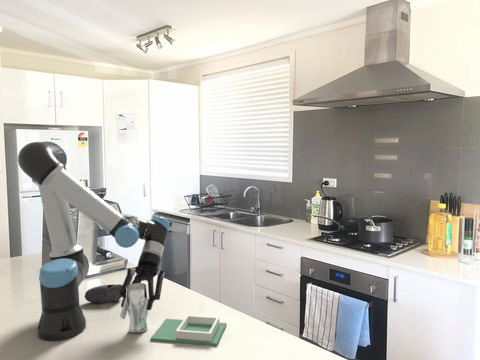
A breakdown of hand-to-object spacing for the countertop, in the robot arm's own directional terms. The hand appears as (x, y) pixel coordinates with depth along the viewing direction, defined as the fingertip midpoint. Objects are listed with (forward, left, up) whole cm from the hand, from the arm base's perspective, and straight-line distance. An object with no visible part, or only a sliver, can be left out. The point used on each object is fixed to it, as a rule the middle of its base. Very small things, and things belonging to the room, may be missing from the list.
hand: (132, 318), depth 130 cm
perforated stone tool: (-24, +24, -6) cm, 34 cm away
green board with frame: (+18, +5, -6) cm, 19 cm away
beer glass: (0, +4, -6) cm, 7 cm away
